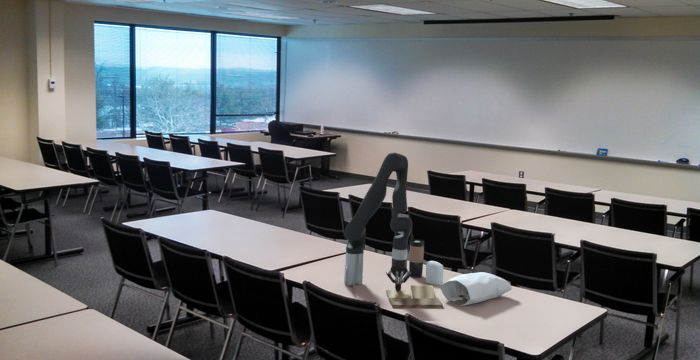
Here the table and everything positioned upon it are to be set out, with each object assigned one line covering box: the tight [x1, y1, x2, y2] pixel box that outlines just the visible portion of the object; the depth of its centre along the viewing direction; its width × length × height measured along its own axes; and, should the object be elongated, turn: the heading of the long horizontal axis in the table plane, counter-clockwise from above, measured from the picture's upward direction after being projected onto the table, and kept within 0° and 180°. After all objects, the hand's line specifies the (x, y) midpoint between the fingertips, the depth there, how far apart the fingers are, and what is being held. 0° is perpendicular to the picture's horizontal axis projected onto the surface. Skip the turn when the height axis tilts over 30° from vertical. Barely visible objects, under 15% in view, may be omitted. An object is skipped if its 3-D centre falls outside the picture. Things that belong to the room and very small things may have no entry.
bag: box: [439, 271, 513, 307], centre depth 316 cm, size 19×19×35 cm
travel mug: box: [408, 238, 425, 279], centre depth 350 cm, size 8×8×20 cm
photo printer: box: [425, 260, 444, 286], centre depth 338 cm, size 10×4×12 cm, turn 39°
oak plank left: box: [385, 289, 413, 300], centre depth 312 cm, size 11×9×2 cm
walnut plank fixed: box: [388, 297, 444, 309], centre depth 303 cm, size 24×9×2 cm, turn 96°
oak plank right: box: [410, 284, 437, 298], centre depth 312 cm, size 11×9×2 cm
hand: (397, 290), depth 315 cm, fingers closed
